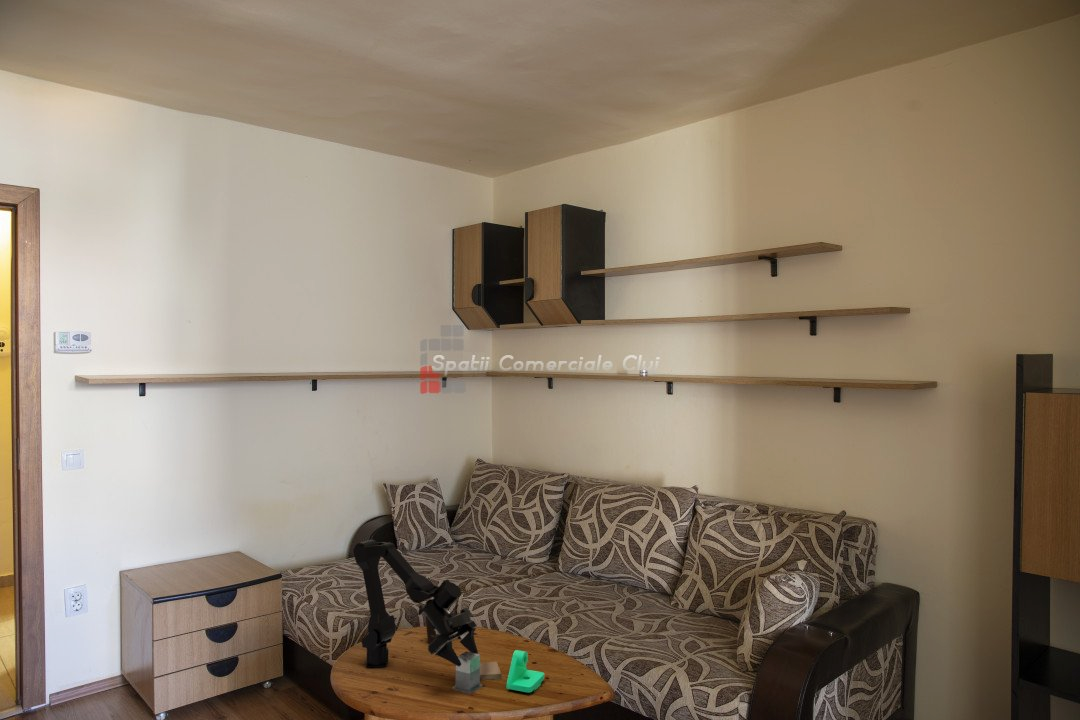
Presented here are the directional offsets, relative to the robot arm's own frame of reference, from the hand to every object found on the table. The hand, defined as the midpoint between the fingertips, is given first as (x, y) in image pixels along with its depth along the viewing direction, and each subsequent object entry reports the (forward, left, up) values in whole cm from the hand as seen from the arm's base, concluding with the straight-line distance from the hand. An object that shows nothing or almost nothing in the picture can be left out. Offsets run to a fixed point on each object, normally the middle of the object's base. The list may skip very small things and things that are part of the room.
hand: (468, 660), depth 219 cm
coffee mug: (-5, +40, -8) cm, 41 cm away
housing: (0, 0, -8) cm, 8 cm away
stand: (+6, +10, -8) cm, 14 cm away
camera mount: (+17, -2, -8) cm, 19 cm away
